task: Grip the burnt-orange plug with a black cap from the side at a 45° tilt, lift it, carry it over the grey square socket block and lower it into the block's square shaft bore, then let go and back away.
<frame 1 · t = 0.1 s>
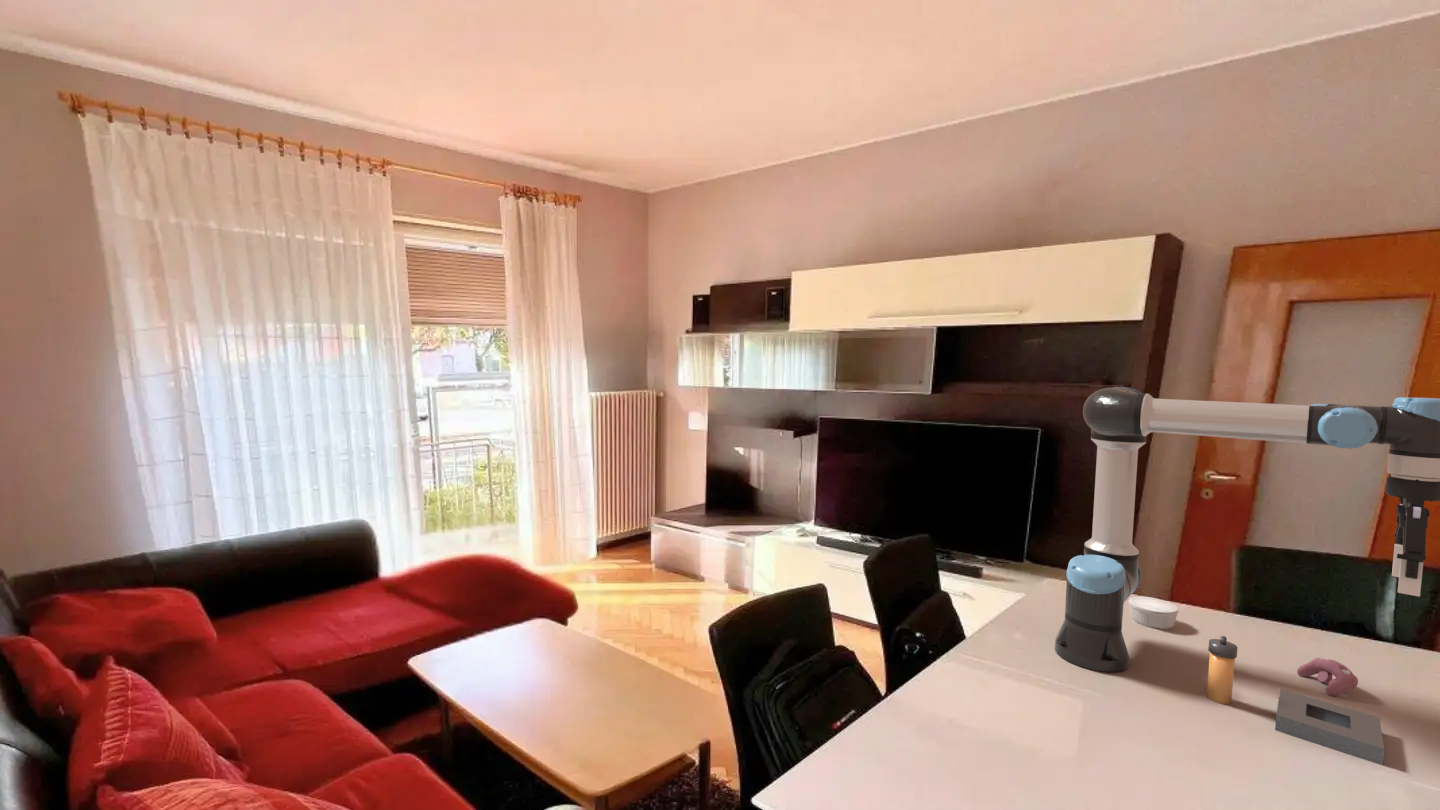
hand: (1405, 585, 117), 28 cm above the table, tool pointing down, fingers open, 13 cm apart
ramekin: (1151, 623, 165), on the table
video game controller: (1326, 687, 133), on the table
grey square socket block: (1326, 730, 116), on the table
plug: (1218, 699, 127), on the table
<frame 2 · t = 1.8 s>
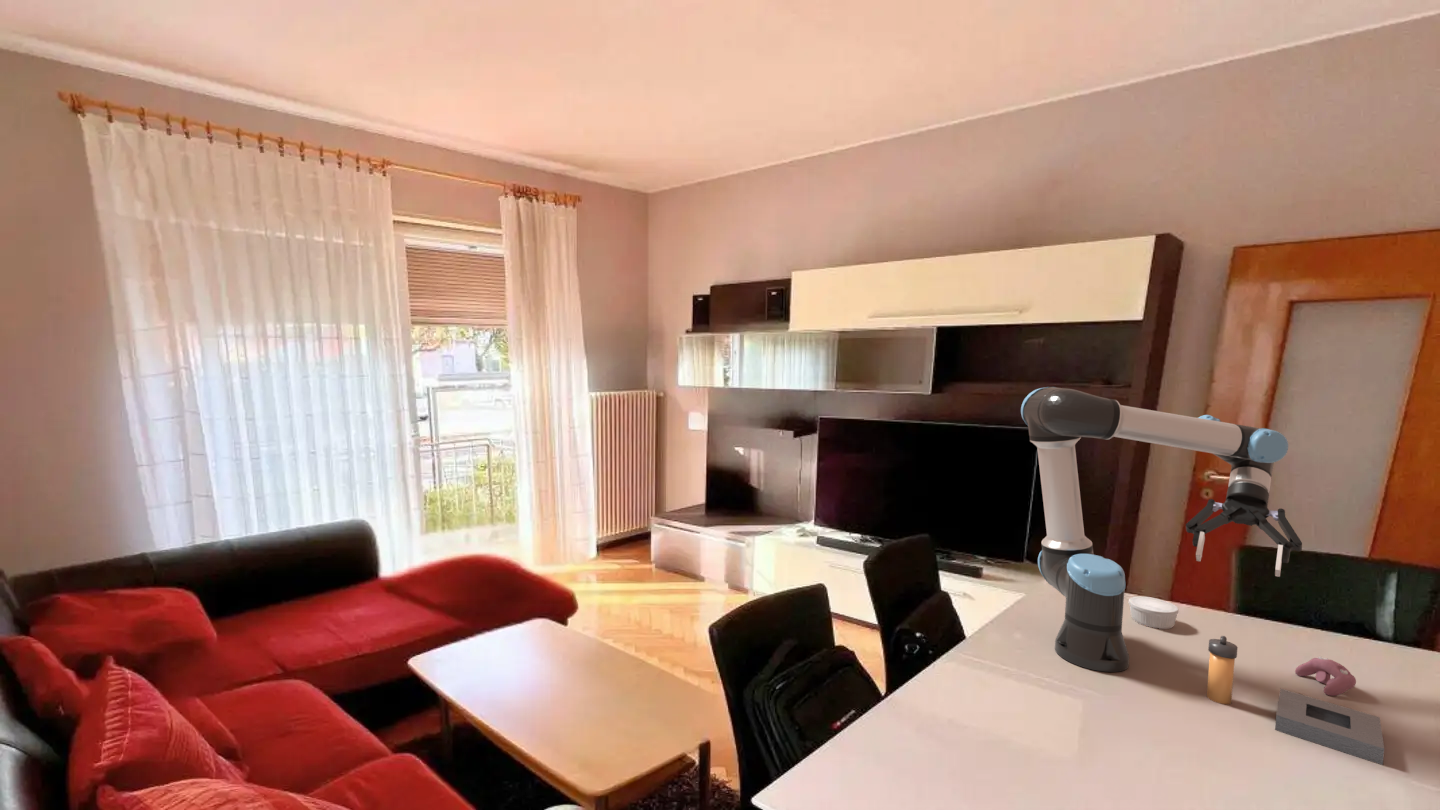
hand: (1236, 565, 135), 26 cm above the table, tool tilted 45°, fingers open, 13 cm apart
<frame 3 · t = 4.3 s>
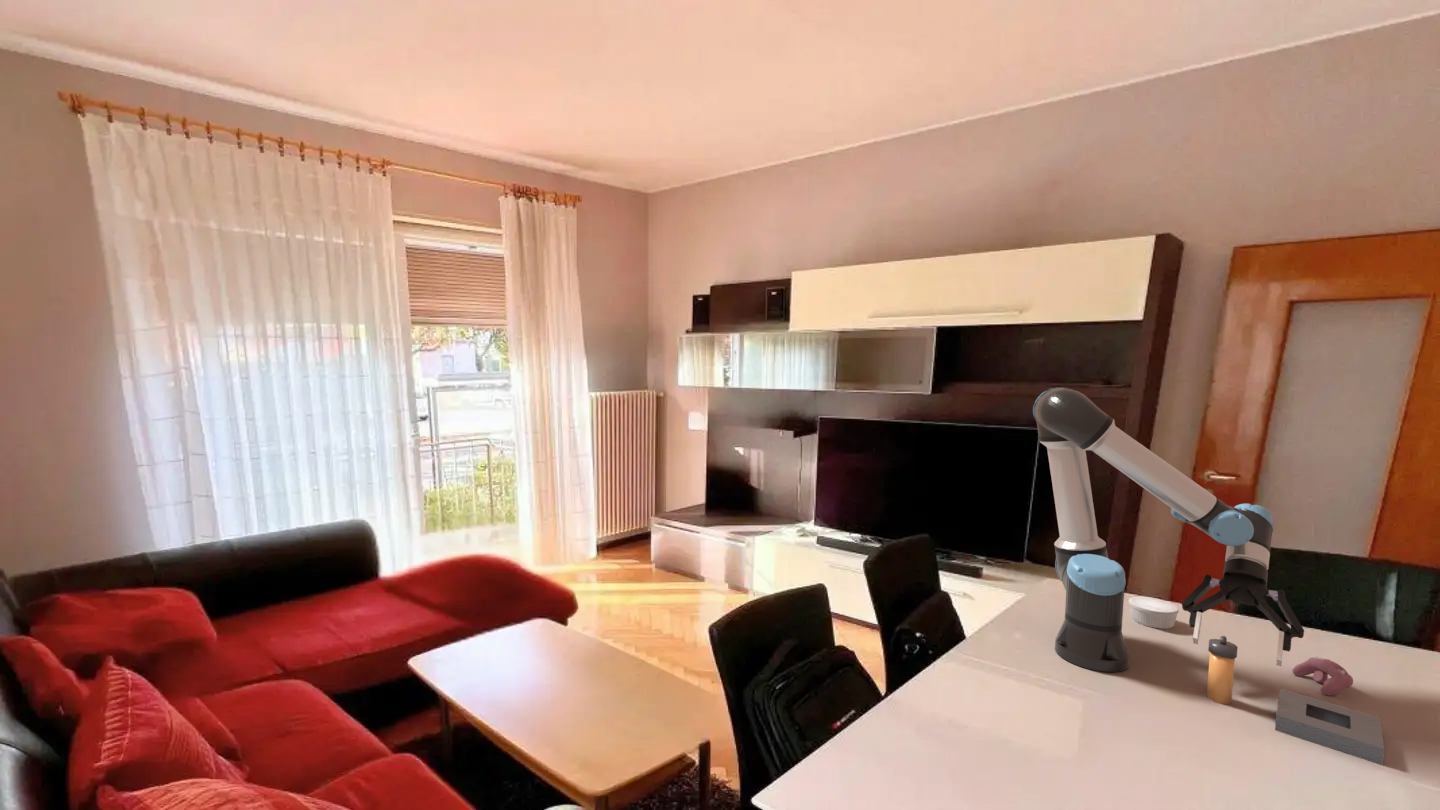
hand: (1235, 651, 128), 9 cm above the table, tool tilted 45°, fingers open, 13 cm apart
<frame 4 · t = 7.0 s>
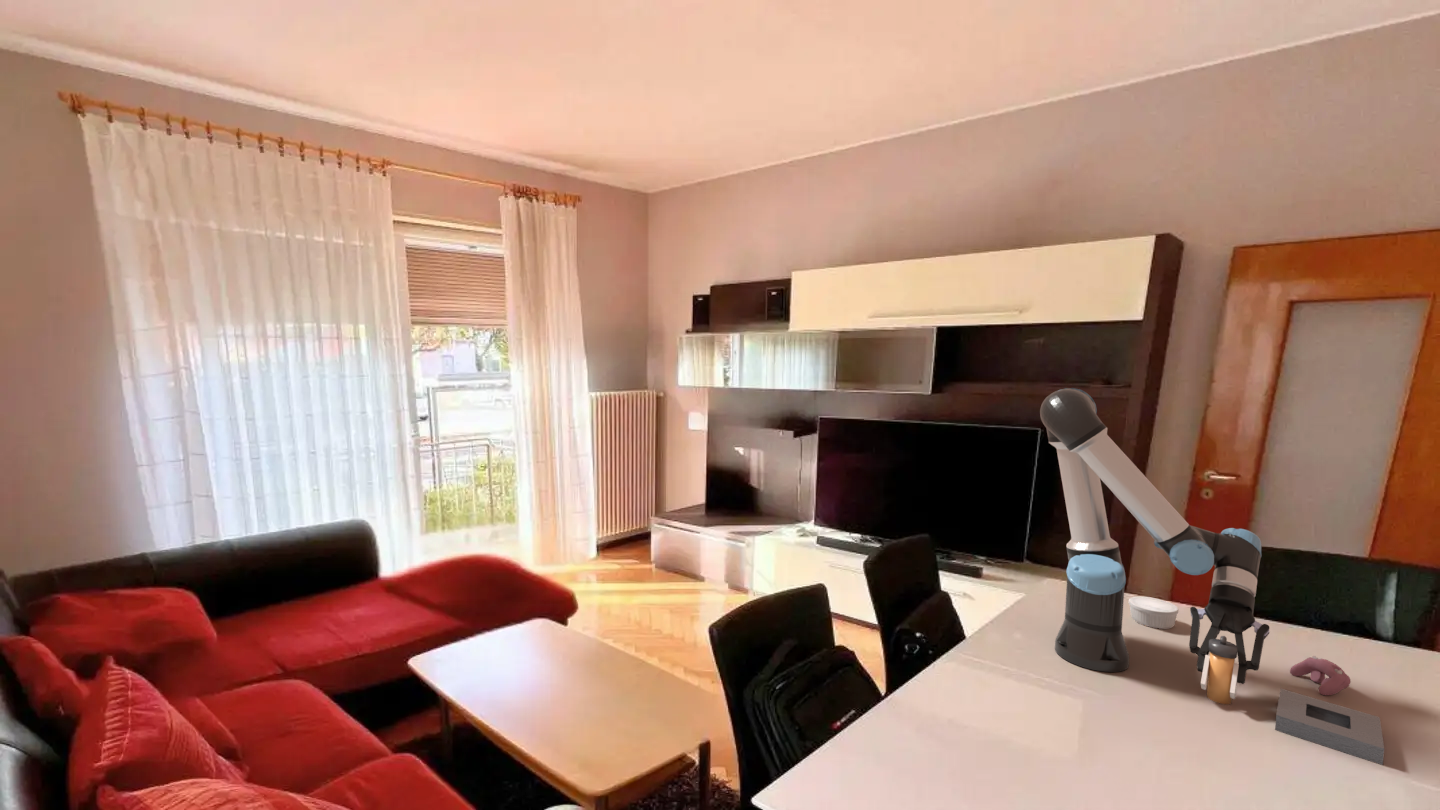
hand: (1217, 690, 124), 3 cm above the table, tool tilted 45°, fingers closed on plug, 4 cm apart
plug: (1218, 699, 127), on the table, touching gripper
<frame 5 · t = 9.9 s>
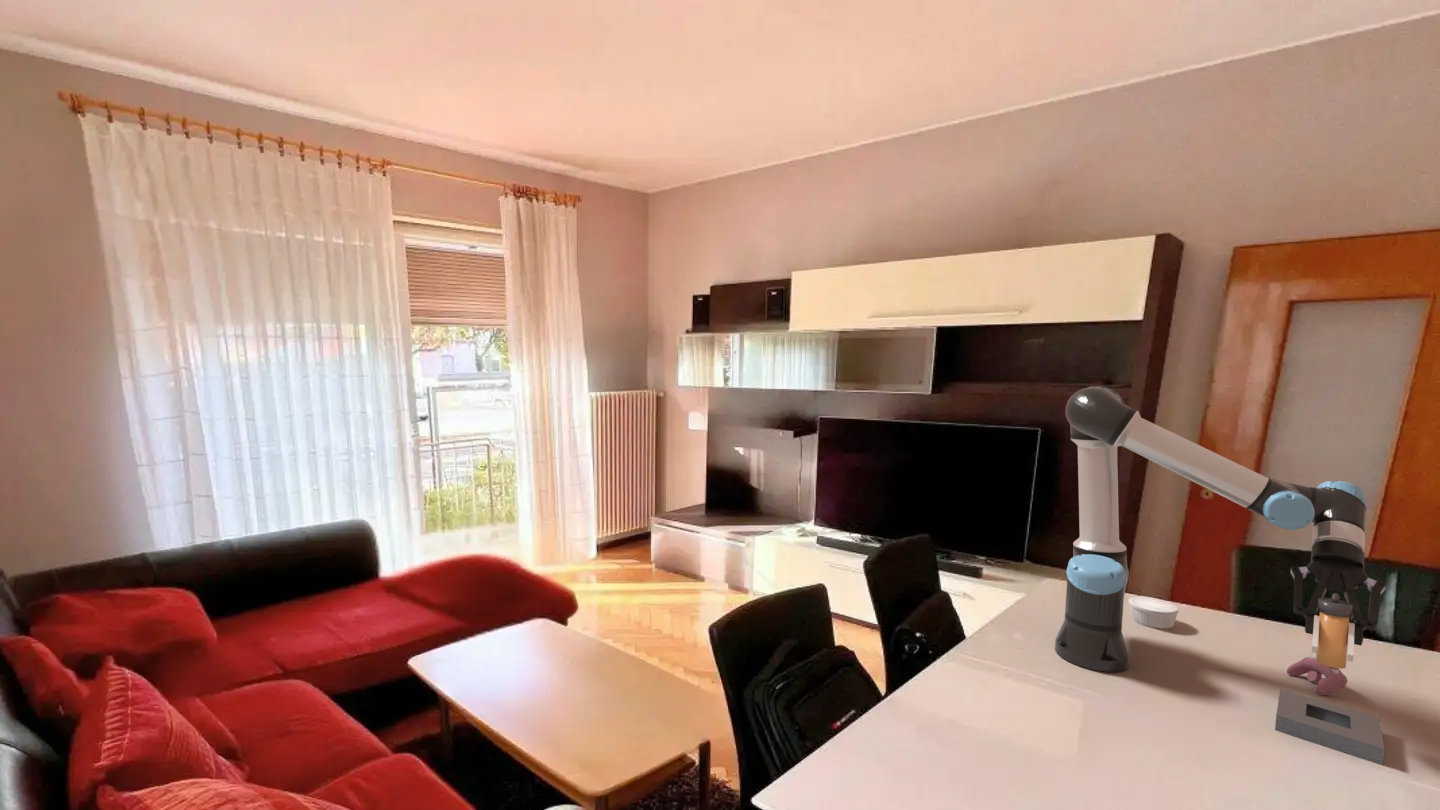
hand: (1332, 653, 112), 17 cm above the table, tool tilted 45°, fingers closed on plug, 4 cm apart
plug: (1330, 663, 115), point 13 cm above the table, touching gripper
when the fingers open (5 cm above the table, at t = 12.8 s): plug drops 2 cm, resting in grey square socket block.
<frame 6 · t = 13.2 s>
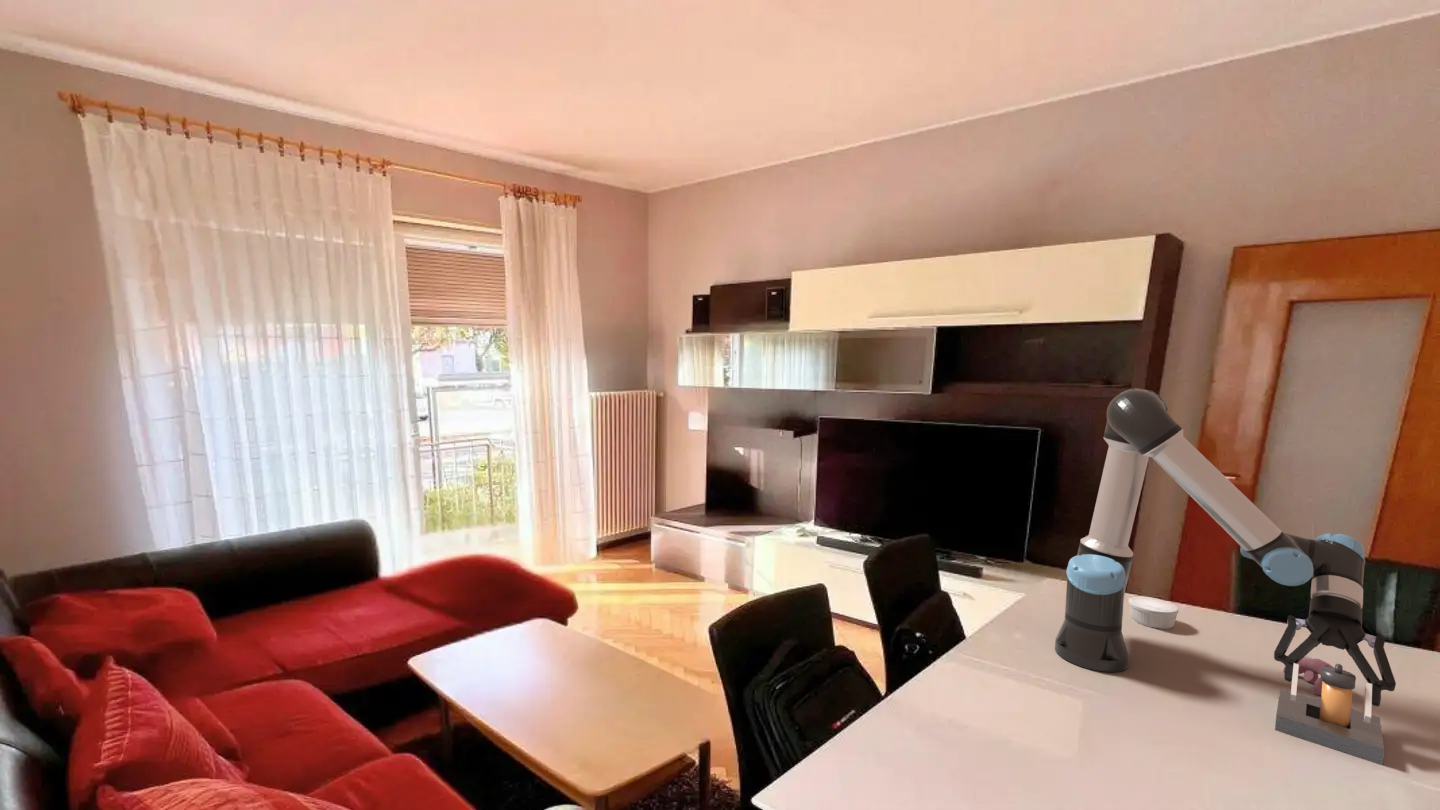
hand: (1329, 708, 113), 6 cm above the table, tool tilted 45°, fingers open, 9 cm apart
plug: (1333, 733, 115), resting in grey square socket block
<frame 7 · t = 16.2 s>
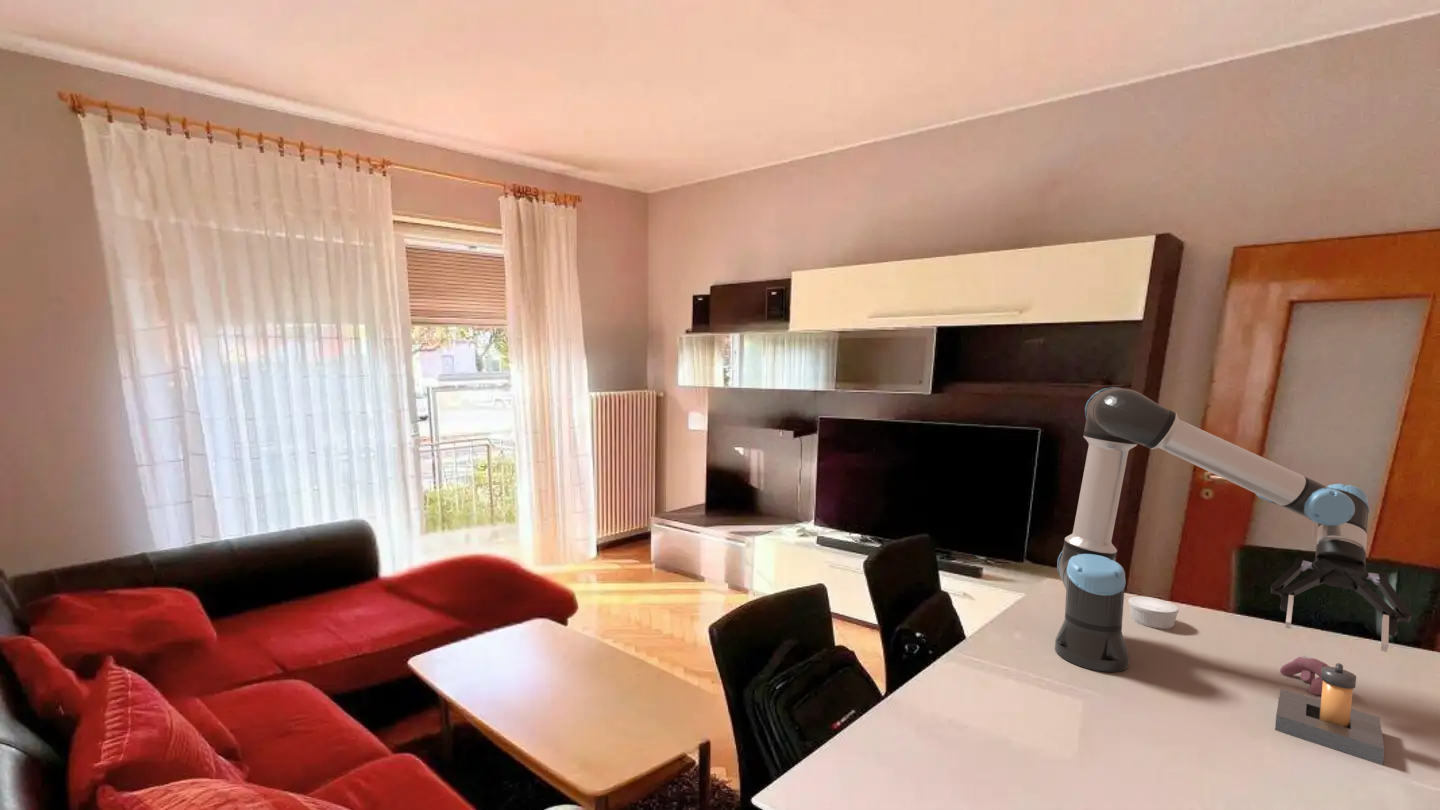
hand: (1334, 636, 121), 16 cm above the table, tool tilted 45°, fingers open, 13 cm apart
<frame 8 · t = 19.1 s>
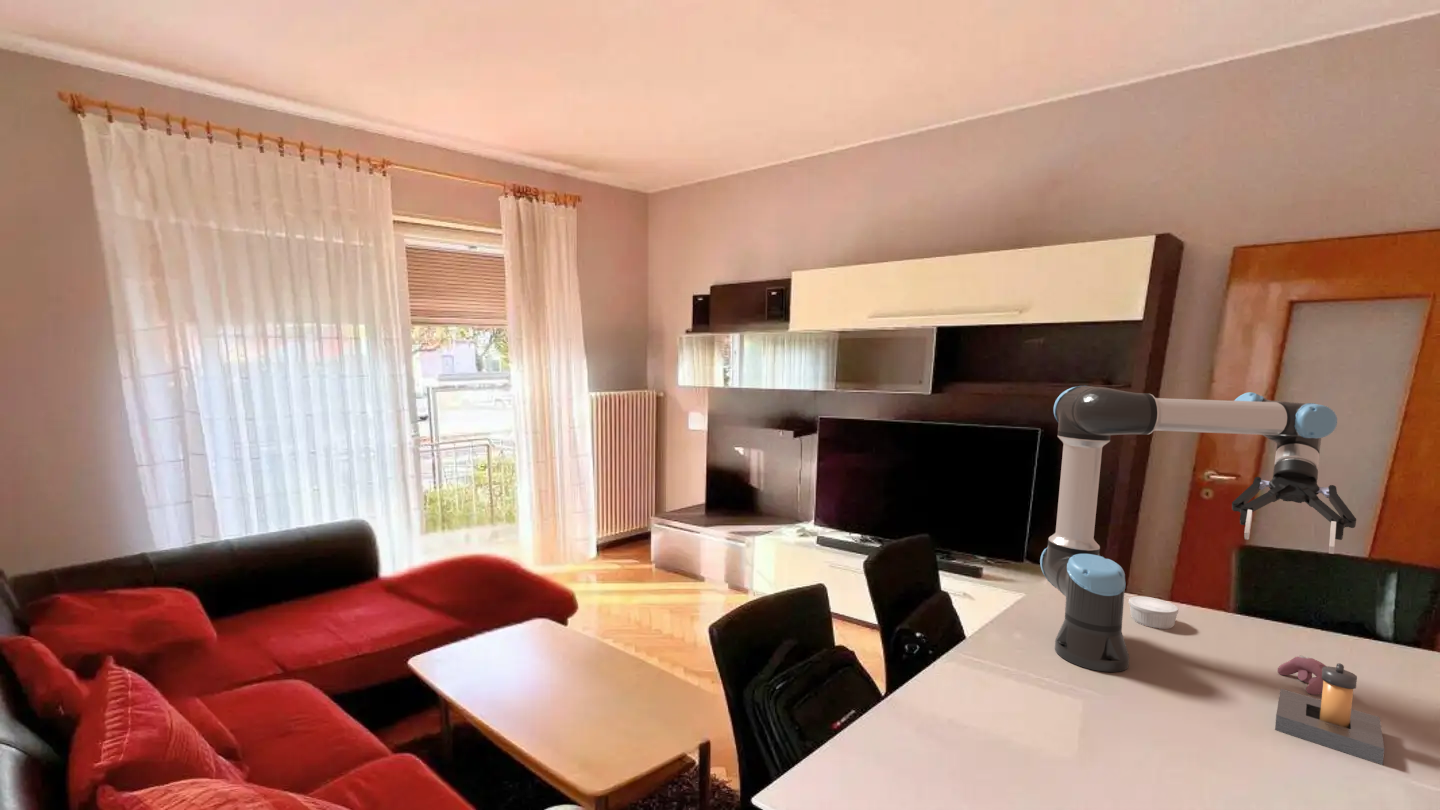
hand: (1287, 543, 132), 32 cm above the table, tool tilted 45°, fingers open, 13 cm apart
at the end: plug 0.9 cm off-centre on the grey square socket block, point 0.0 cm above the grey square socket block's base; plug tilted 1°; the gripper is holding nothing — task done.
